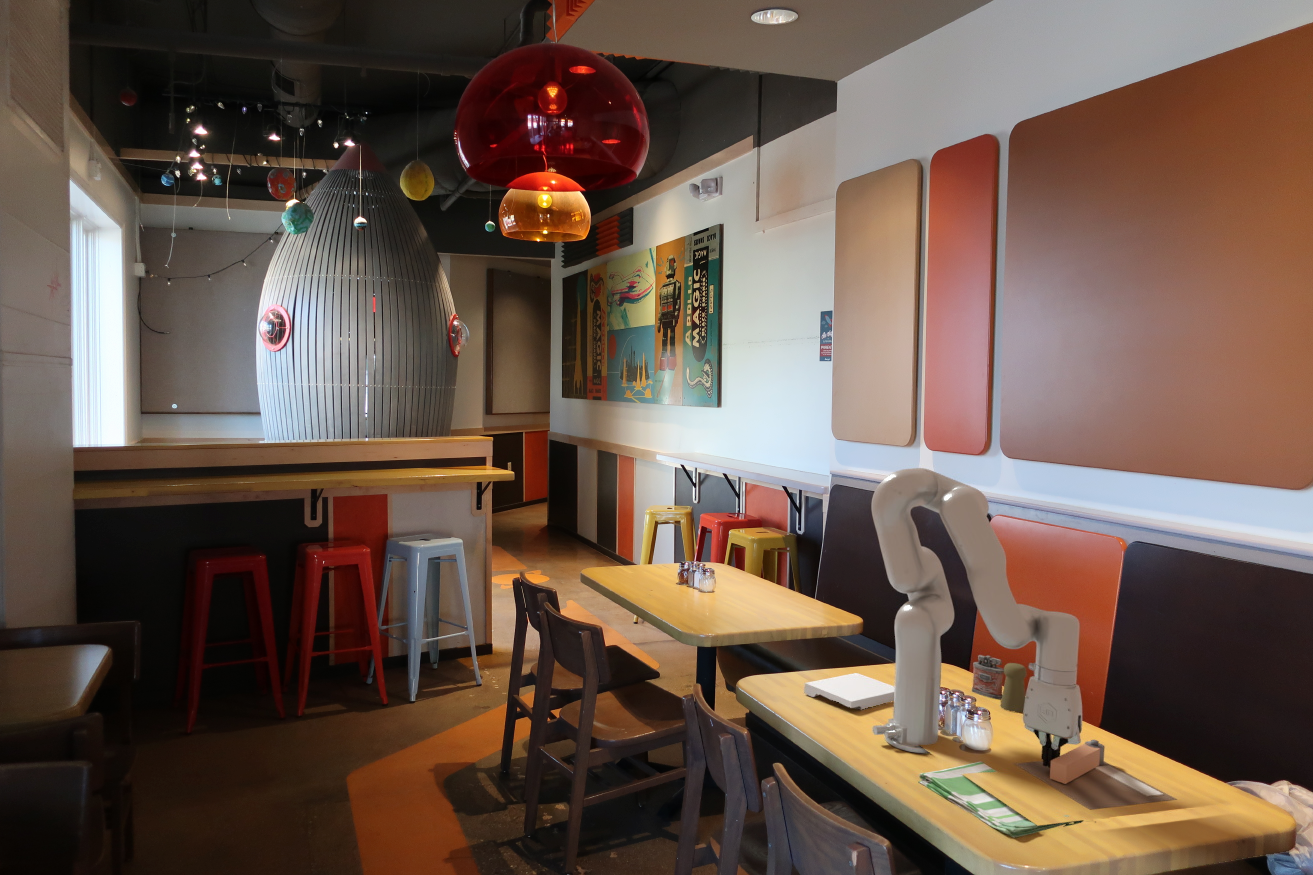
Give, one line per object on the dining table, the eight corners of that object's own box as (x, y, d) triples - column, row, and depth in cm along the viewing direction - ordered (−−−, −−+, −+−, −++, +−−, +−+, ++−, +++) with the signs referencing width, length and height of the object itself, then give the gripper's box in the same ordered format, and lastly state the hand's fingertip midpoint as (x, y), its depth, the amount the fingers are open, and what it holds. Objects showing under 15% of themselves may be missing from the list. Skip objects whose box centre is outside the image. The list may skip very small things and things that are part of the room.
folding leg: (1088, 756, 176) (1089, 736, 175) (1106, 762, 173) (1107, 741, 173) (1048, 777, 164) (1049, 755, 164) (1066, 784, 161) (1068, 762, 161)
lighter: (969, 691, 221) (971, 653, 220) (975, 688, 223) (977, 651, 223) (998, 700, 215) (1000, 661, 214) (1005, 697, 217) (1007, 659, 216)
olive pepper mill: (1029, 713, 206) (1031, 668, 205) (1002, 710, 207) (1005, 666, 206) (1023, 705, 212) (1025, 661, 211) (998, 702, 213) (1000, 659, 212)
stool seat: (1089, 817, 152) (1090, 808, 152) (1013, 770, 171) (1014, 762, 171) (1176, 806, 158) (1177, 797, 158) (1093, 762, 177) (1094, 754, 177)
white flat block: (855, 685, 225) (803, 695, 213) (856, 672, 225) (804, 682, 213) (902, 702, 213) (850, 715, 201) (903, 689, 213) (851, 701, 201)
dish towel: (1011, 842, 143) (1012, 827, 143) (914, 785, 164) (915, 771, 164) (1083, 824, 150) (1084, 809, 150) (982, 771, 171) (983, 758, 171)
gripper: (1010, 668, 171) (1005, 757, 172) (1086, 688, 160) (1080, 783, 161) (1027, 662, 176) (1022, 748, 177) (1102, 681, 165) (1096, 773, 165)
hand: (1050, 765), depth 169 cm, fingers closed
